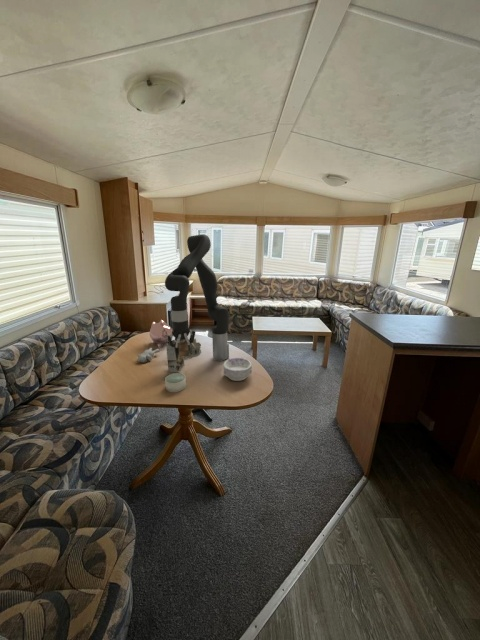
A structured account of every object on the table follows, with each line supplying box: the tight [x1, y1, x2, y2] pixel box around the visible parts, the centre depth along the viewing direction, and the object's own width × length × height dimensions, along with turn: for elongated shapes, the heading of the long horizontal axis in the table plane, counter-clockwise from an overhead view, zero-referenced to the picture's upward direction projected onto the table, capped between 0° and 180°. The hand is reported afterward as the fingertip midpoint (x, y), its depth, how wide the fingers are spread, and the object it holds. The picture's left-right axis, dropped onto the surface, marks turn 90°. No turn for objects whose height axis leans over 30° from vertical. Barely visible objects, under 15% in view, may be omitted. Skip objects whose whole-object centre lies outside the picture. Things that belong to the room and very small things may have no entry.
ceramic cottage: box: [183, 338, 202, 360], centre depth 167 cm, size 16×16×15 cm
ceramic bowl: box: [164, 372, 187, 393], centre depth 131 cm, size 10×10×5 cm
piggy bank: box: [149, 319, 174, 348], centre depth 185 cm, size 15×18×16 cm
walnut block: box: [178, 340, 189, 357], centre depth 124 cm, size 4×4×6 cm
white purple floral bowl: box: [223, 357, 253, 382], centre depth 140 cm, size 15×15×8 cm
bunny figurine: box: [137, 347, 160, 364], centre depth 163 cm, size 10×5×15 cm
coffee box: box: [165, 339, 186, 373], centre depth 148 cm, size 9×6×16 cm
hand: (182, 352), depth 125 cm, fingers closed on walnut block, 4 cm apart
